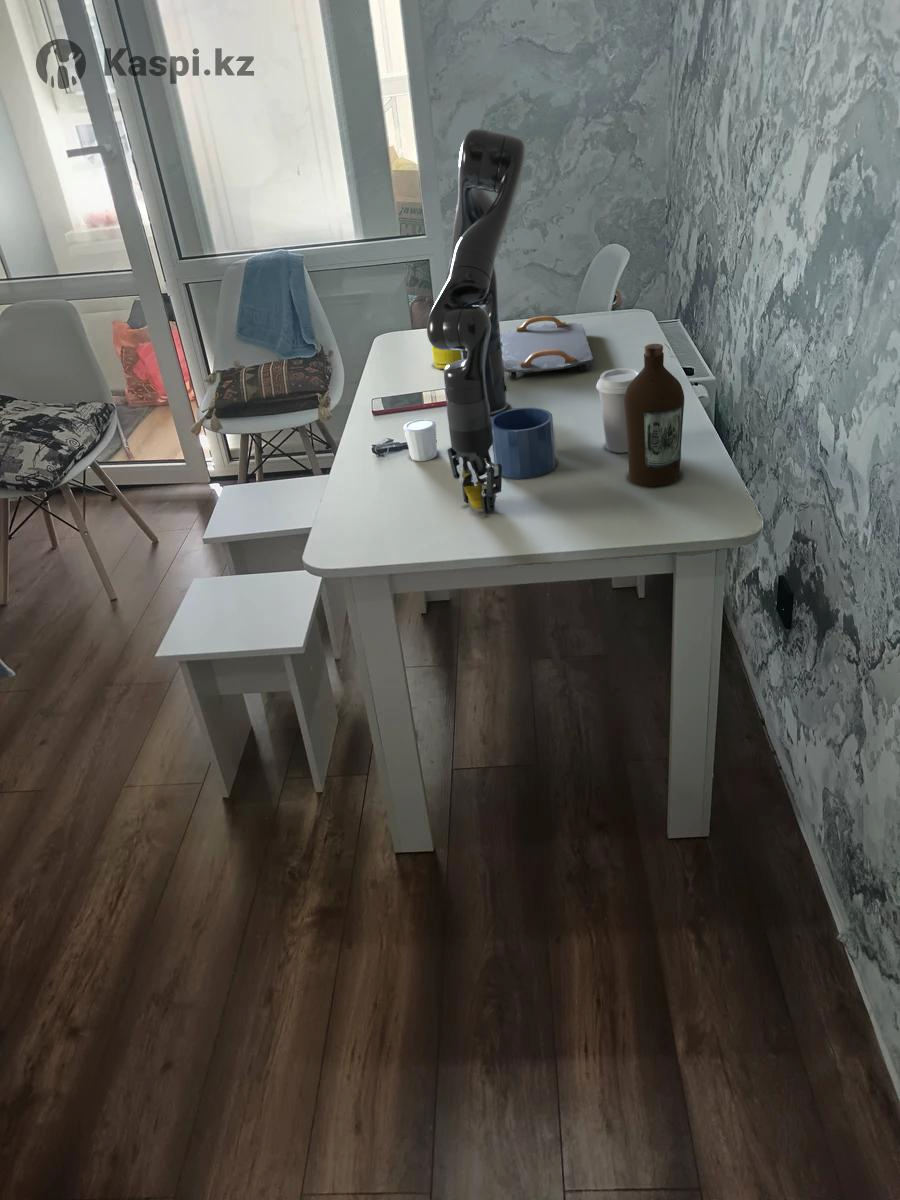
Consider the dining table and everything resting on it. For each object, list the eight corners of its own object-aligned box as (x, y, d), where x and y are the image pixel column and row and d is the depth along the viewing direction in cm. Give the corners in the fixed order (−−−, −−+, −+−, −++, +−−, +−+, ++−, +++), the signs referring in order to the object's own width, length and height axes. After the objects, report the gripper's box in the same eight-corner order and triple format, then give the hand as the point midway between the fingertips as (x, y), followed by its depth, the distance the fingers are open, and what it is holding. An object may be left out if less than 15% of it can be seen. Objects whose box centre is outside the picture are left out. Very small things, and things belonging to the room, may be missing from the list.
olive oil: (617, 471, 176) (613, 344, 163) (668, 460, 178) (669, 333, 164) (639, 493, 167) (637, 360, 154) (693, 481, 169) (695, 348, 155)
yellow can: (473, 359, 246) (468, 314, 240) (455, 370, 240) (450, 324, 234) (445, 357, 251) (439, 313, 245) (427, 367, 245) (421, 323, 239)
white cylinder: (416, 465, 191) (411, 433, 187) (402, 455, 196) (397, 424, 192) (445, 455, 193) (441, 424, 189) (431, 446, 198) (426, 415, 195)
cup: (483, 467, 186) (477, 421, 180) (529, 448, 191) (526, 402, 186) (519, 484, 177) (515, 436, 171) (568, 464, 182) (565, 416, 177)
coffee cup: (649, 437, 188) (648, 366, 180) (642, 456, 181) (641, 383, 173) (603, 436, 191) (600, 367, 183) (594, 455, 184) (591, 383, 176)
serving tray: (596, 374, 224) (595, 350, 220) (502, 385, 226) (500, 360, 223) (582, 330, 256) (581, 307, 253) (500, 339, 259) (498, 317, 255)
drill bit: (505, 510, 169) (480, 493, 161) (481, 521, 171) (454, 505, 163) (499, 485, 171) (473, 467, 163) (475, 497, 173) (448, 480, 165)
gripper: (511, 425, 156) (519, 512, 165) (463, 405, 167) (473, 488, 176) (476, 438, 153) (486, 526, 162) (429, 417, 163) (441, 501, 173)
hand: (479, 506), depth 169 cm, fingers closed on drill bit, 5 cm apart
